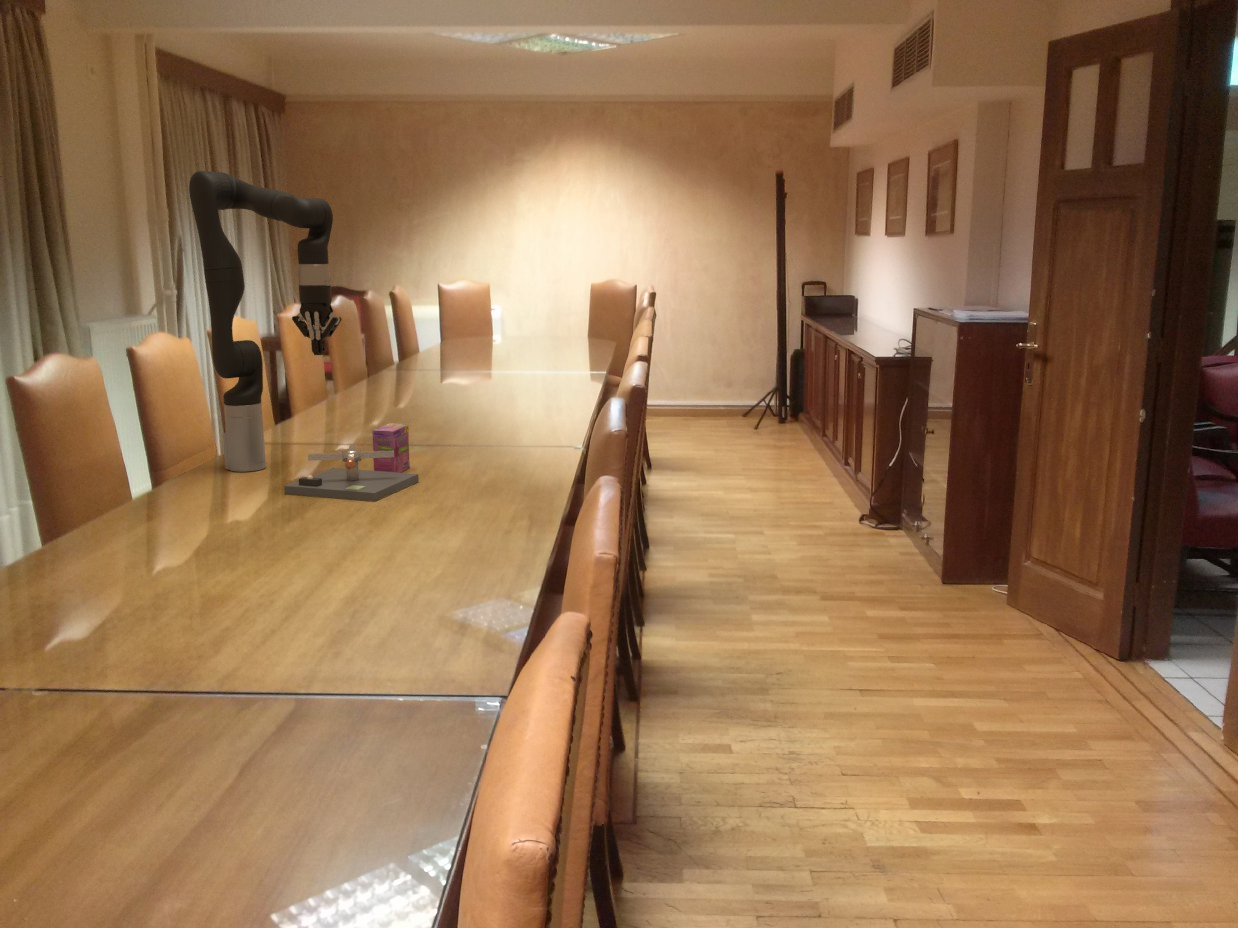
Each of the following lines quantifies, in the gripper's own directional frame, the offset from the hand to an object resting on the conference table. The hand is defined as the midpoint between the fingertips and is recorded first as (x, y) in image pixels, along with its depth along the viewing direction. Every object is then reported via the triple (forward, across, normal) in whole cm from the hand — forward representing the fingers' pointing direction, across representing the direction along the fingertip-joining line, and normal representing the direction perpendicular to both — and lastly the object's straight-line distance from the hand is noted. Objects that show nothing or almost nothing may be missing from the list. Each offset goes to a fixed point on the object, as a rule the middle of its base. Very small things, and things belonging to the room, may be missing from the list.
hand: (318, 354), depth 264 cm
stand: (+31, +12, -7) cm, 34 cm away
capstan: (+24, +12, -8) cm, 28 cm away
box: (+31, +12, +12) cm, 36 cm away
